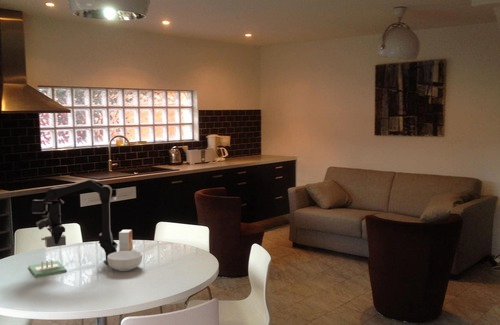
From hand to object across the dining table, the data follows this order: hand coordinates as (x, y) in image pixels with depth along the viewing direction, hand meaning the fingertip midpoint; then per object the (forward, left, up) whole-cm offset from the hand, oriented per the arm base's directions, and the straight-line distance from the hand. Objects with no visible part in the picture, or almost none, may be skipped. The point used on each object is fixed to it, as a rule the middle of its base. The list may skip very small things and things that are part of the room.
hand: (55, 243), depth 249 cm
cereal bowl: (-27, -26, -12) cm, 39 cm away
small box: (+8, -39, -12) cm, 42 cm away
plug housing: (0, 0, -1) cm, 1 cm away
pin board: (-6, +6, -11) cm, 14 cm away
